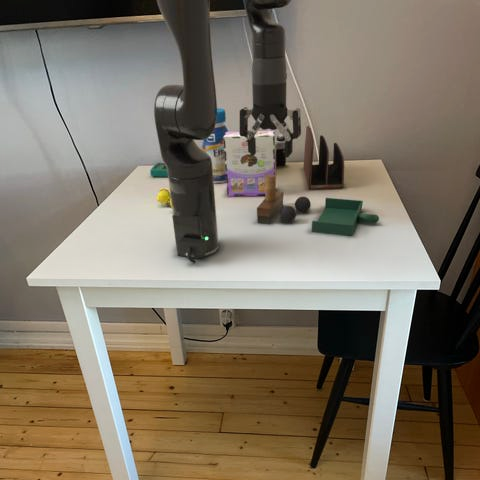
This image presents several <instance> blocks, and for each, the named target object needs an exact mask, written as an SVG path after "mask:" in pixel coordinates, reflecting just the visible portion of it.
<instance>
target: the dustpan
mask: <svg viewBox="0 0 480 480" xmlns="http://www.w3.org/2000/svg"><path fill="white" fill-rule="evenodd" d="M363 203H364V200H358V199H346V198H333V197H325V203H324V208H323V210H322V212H321V214H320V216H319V217H318V219H317V220H312V221H311V232H312V233H319V234H328V235H329V234H330V235H338V236H348V237H350V236H353V234H354V231H355V229H356V226H357V224H358V223H368V224H377V223H378V222H379V221H380V216H379V215H378V214H373V213H362V210H363V205H364V204H363Z"/></svg>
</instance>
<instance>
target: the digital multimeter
mask: <svg viewBox="0 0 480 480" xmlns="http://www.w3.org/2000/svg"><path fill="white" fill-rule="evenodd" d="M149 172H150V176H151V177H153V178H168V172H167V167H166V165H165V163H164V162H157V163H155V164H154V165H153V166H152V168H151V169H150V170H149Z"/></svg>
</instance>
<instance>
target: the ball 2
mask: <svg viewBox="0 0 480 480" xmlns="http://www.w3.org/2000/svg"><path fill="white" fill-rule="evenodd" d="M311 203H312V202H311V200H310V199H309V197H306V196H299V197H298V198H297V199H296V200H295V203H294V209H295V211H297V212H299V213H301V214H304V213H306V212H308V211H309V210H310V209H311V205H312V204H311Z"/></svg>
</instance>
